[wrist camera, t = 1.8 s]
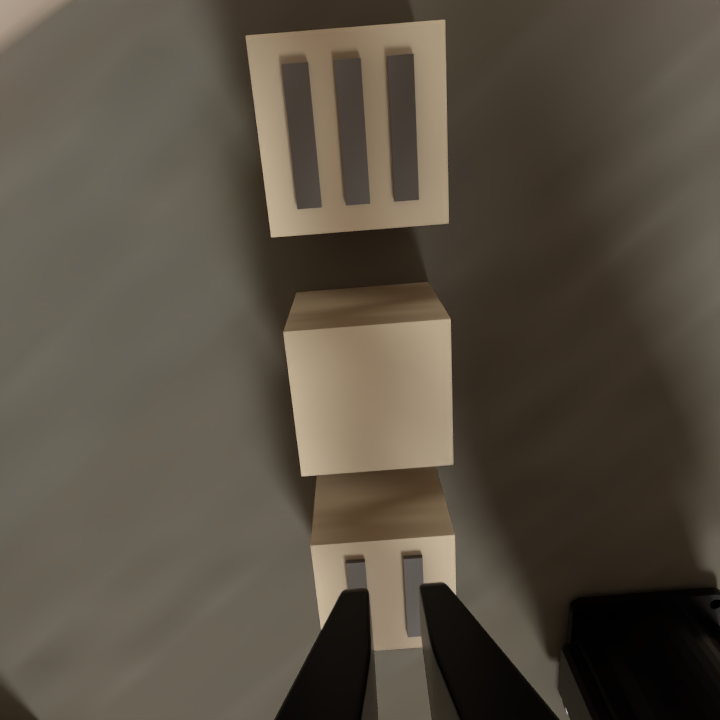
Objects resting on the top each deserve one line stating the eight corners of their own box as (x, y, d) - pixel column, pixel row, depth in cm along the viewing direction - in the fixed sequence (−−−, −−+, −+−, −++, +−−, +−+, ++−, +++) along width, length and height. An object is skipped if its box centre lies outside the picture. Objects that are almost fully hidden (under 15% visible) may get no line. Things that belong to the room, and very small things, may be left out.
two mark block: (433, 460, 22) (455, 538, 18) (436, 555, 23) (457, 648, 19) (317, 468, 22) (310, 549, 18) (328, 563, 24) (324, 658, 19)
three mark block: (420, 50, 17) (446, 18, 13) (425, 206, 19) (450, 224, 14) (270, 63, 17) (243, 34, 13) (288, 217, 19) (270, 238, 14)
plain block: (427, 281, 19) (450, 318, 15) (431, 401, 21) (453, 464, 17) (296, 291, 19) (283, 331, 15) (310, 410, 21) (301, 476, 17)
